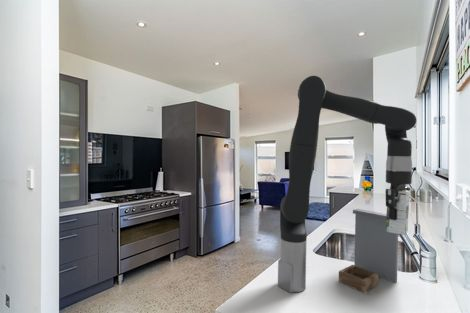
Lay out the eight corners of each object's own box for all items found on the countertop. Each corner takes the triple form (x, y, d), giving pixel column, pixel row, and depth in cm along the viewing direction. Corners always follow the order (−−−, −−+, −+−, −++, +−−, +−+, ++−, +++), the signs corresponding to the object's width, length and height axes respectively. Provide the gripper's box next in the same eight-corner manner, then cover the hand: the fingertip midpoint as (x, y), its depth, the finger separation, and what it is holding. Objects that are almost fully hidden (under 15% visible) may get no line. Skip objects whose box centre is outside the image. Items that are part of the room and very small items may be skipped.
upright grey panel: (392, 284, 97) (394, 217, 97) (351, 268, 110) (352, 209, 109) (397, 281, 99) (398, 216, 99) (356, 266, 112) (357, 208, 112)
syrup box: (388, 228, 93) (389, 188, 93) (408, 232, 89) (409, 189, 89) (385, 231, 88) (386, 189, 88) (406, 235, 85) (407, 191, 85)
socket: (365, 293, 90) (365, 281, 90) (338, 281, 98) (338, 271, 98) (378, 284, 96) (378, 274, 96) (352, 274, 104) (352, 264, 104)
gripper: (395, 168, 96) (394, 213, 96) (377, 169, 87) (376, 218, 87) (419, 170, 90) (417, 218, 90) (402, 170, 81) (400, 223, 81)
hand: (397, 218), depth 89 cm, fingers closed on syrup box, 6 cm apart
